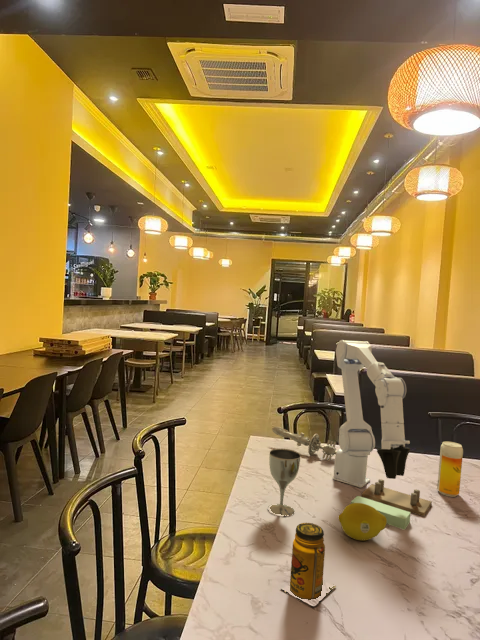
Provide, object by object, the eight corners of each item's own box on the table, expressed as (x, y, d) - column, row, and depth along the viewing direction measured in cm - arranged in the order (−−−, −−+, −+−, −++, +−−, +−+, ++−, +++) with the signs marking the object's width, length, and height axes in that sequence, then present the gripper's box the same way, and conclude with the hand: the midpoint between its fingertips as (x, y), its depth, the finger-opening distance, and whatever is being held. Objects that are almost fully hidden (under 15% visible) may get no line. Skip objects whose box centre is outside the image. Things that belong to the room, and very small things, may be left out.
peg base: (361, 496, 127) (362, 482, 127) (371, 487, 135) (373, 474, 134) (423, 516, 117) (425, 501, 117) (431, 505, 125) (432, 491, 125)
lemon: (335, 541, 102) (337, 507, 102) (338, 525, 110) (341, 493, 109) (384, 552, 99) (387, 517, 98) (384, 535, 106) (387, 502, 106)
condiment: (280, 590, 84) (284, 527, 83) (304, 571, 90) (308, 513, 89) (313, 609, 79) (318, 543, 78) (336, 587, 85) (341, 526, 85)
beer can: (461, 498, 130) (466, 448, 130) (439, 495, 131) (443, 445, 131) (455, 490, 136) (460, 442, 136) (434, 487, 137) (438, 439, 137)
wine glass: (300, 508, 117) (304, 452, 117) (290, 520, 110) (295, 461, 110) (272, 500, 121) (275, 446, 120) (261, 512, 114) (265, 454, 113)
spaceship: (279, 420, 174) (271, 416, 167) (366, 452, 154) (360, 448, 148) (273, 440, 172) (264, 436, 166) (359, 474, 152) (353, 472, 146)
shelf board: (350, 512, 118) (350, 501, 118) (356, 506, 122) (357, 495, 122) (404, 531, 110) (405, 519, 109) (409, 523, 114) (410, 512, 114)
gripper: (400, 423, 110) (403, 481, 107) (414, 423, 122) (418, 475, 119) (372, 423, 114) (374, 478, 111) (388, 422, 126) (391, 473, 123)
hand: (395, 476), depth 115 cm, fingers open, 7 cm apart
